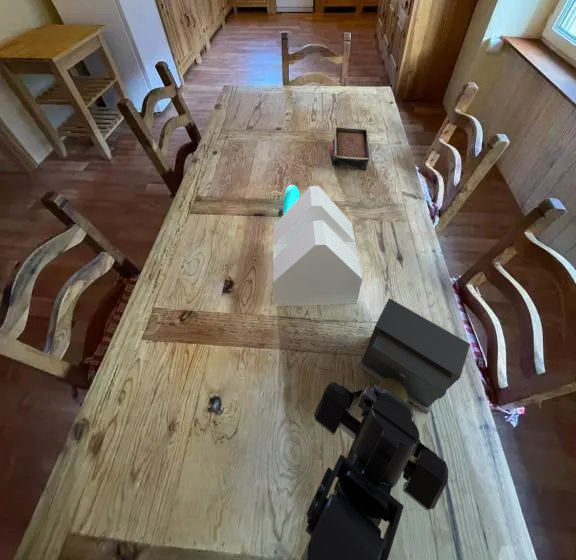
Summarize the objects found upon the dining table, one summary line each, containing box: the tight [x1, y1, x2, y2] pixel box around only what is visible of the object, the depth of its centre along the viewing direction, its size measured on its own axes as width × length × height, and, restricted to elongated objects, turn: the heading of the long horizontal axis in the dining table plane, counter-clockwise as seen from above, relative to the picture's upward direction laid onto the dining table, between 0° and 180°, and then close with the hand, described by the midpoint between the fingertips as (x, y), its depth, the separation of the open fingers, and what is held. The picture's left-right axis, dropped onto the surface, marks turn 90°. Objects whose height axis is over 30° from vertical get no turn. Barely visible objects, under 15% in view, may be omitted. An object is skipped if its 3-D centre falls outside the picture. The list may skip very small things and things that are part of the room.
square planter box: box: [328, 126, 373, 171], centre depth 116 cm, size 14×18×10 cm
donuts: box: [282, 184, 300, 216], centre depth 98 cm, size 10×10×10 cm
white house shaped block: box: [272, 185, 363, 307], centre depth 78 cm, size 19×15×25 cm
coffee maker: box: [357, 297, 471, 414], centre depth 63 cm, size 10×15×20 cm, turn 55°
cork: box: [377, 378, 408, 404], centre depth 63 cm, size 6×6×11 cm
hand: (385, 410), depth 58 cm, fingers open, 9 cm apart
